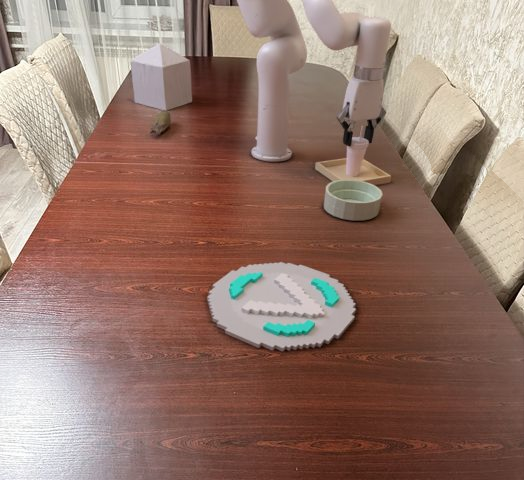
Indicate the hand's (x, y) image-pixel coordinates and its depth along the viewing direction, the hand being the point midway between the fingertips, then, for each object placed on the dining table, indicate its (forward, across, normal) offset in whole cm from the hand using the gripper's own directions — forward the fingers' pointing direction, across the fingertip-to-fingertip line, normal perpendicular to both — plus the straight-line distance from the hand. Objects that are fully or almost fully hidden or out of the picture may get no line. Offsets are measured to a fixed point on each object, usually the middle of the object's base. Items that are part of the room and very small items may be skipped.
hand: (357, 142), depth 148 cm
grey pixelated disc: (+10, +50, +50) cm, 71 cm away
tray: (+10, 0, 0) cm, 10 cm away
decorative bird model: (+10, +40, -56) cm, 70 cm away
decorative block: (+10, +29, -88) cm, 93 cm away
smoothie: (+9, 0, 0) cm, 9 cm away
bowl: (+10, +13, +19) cm, 25 cm away
